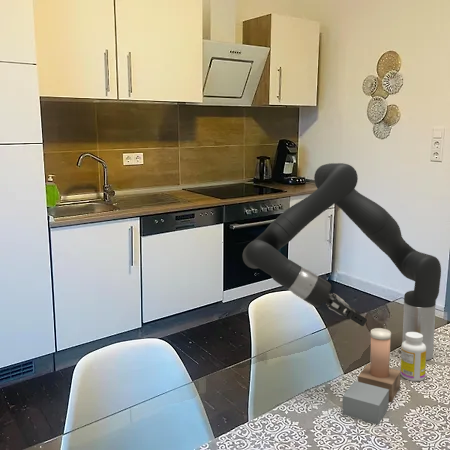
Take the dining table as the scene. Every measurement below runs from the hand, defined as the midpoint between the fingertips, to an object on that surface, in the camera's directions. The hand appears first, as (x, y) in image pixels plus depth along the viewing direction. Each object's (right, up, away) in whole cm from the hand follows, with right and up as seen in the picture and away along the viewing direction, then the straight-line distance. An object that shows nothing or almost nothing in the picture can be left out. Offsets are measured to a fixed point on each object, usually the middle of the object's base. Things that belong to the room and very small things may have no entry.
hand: (361, 319), depth 126 cm
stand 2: (0, -22, -5) cm, 23 cm away
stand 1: (+6, -21, +4) cm, 22 cm away
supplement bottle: (+18, -19, +12) cm, 29 cm away
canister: (+6, -16, +4) cm, 17 cm away
